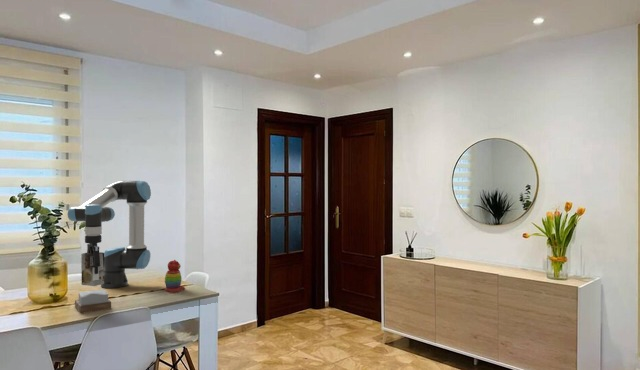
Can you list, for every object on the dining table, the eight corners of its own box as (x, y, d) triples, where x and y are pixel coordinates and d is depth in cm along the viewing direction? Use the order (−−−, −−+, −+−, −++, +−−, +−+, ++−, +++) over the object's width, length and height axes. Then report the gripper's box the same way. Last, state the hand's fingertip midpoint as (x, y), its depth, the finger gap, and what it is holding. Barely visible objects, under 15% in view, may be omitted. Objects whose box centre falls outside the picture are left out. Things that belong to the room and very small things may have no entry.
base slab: (74, 307, 228) (74, 300, 228) (104, 303, 237) (104, 295, 237) (80, 314, 217) (80, 306, 217) (111, 309, 226) (111, 301, 226)
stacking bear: (176, 293, 258) (177, 262, 258) (160, 292, 260) (161, 261, 260) (186, 288, 268) (186, 259, 268) (170, 287, 270) (170, 258, 270)
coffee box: (104, 283, 229) (105, 252, 228) (94, 286, 222) (95, 254, 222) (91, 282, 231) (91, 251, 231) (80, 285, 225) (80, 253, 225)
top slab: (78, 300, 229) (78, 292, 229) (104, 296, 235) (104, 289, 235) (81, 305, 219) (81, 297, 219) (108, 302, 225) (108, 294, 225)
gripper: (80, 233, 233) (79, 275, 233) (90, 237, 216) (90, 283, 216) (95, 232, 238) (95, 273, 238) (107, 236, 220) (107, 281, 220)
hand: (92, 278), depth 227 cm, fingers closed on coffee box, 11 cm apart
